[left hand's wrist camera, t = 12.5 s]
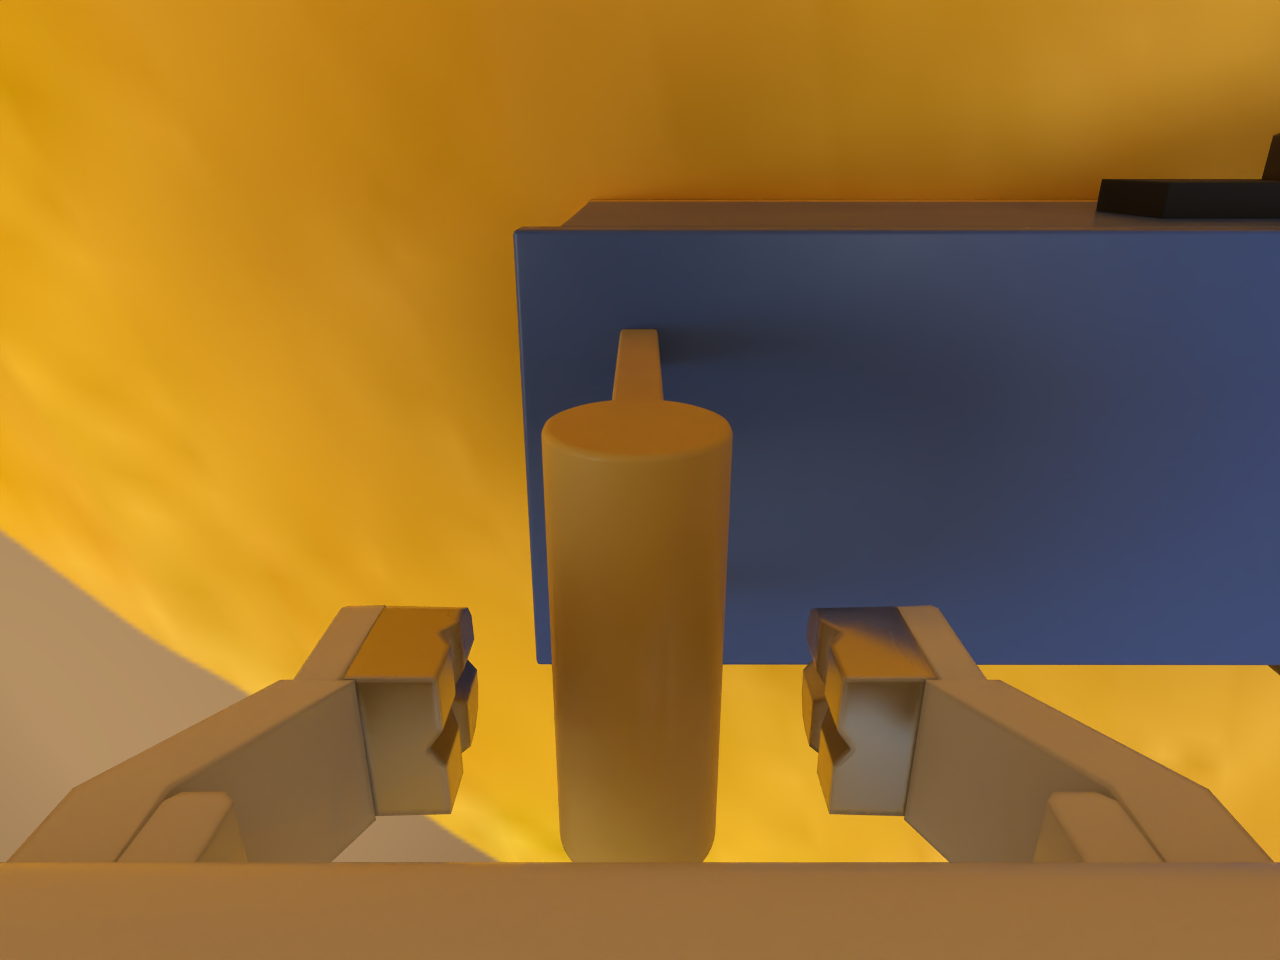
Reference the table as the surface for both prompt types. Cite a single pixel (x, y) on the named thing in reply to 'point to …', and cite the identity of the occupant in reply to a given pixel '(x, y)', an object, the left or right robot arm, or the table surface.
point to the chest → (875, 214)
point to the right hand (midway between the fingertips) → (1085, 408)
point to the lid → (879, 468)
